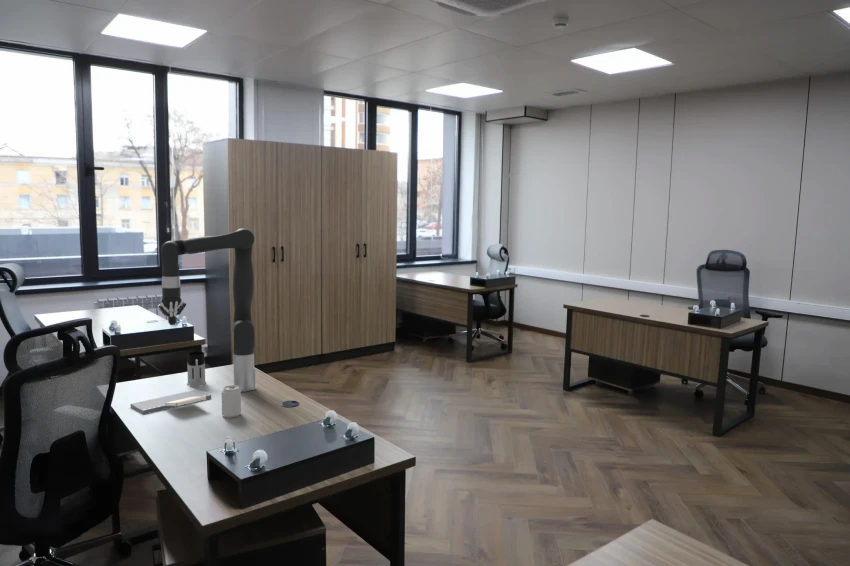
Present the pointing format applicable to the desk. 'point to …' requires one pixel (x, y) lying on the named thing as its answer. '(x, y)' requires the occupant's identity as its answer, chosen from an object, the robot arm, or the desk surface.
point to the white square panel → (184, 401)
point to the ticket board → (160, 402)
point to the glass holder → (196, 369)
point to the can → (231, 401)
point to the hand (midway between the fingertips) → (172, 324)
